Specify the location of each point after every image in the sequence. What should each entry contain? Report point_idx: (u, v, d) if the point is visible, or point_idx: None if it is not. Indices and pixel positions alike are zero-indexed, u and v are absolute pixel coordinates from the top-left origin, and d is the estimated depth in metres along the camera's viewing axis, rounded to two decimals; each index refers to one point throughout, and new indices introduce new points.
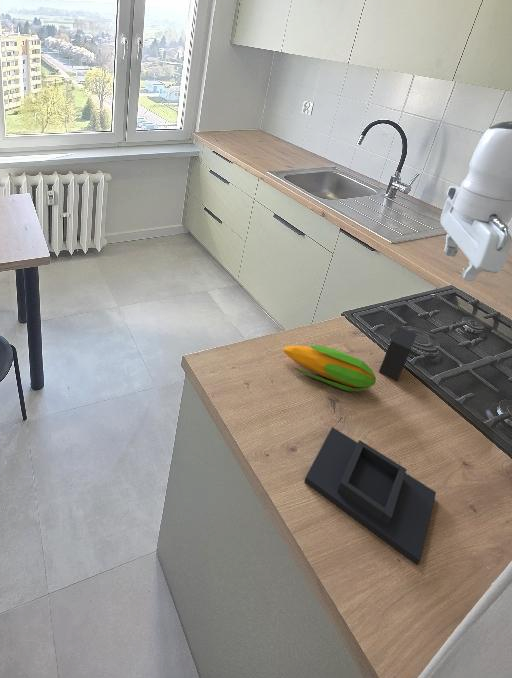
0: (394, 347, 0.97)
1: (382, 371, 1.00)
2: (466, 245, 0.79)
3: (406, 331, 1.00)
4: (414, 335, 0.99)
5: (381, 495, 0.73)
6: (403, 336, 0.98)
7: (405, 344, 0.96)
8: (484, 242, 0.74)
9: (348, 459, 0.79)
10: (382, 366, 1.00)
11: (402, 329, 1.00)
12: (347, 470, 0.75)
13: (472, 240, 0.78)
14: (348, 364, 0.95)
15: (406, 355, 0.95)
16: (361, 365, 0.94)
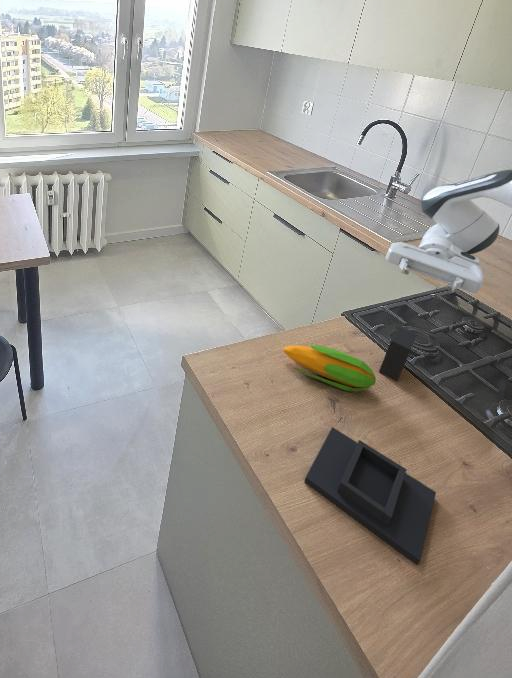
0: (394, 347, 0.97)
1: (382, 371, 1.00)
2: None
3: (406, 331, 1.00)
4: (414, 335, 0.99)
5: (381, 495, 0.73)
6: (403, 336, 0.98)
7: (405, 344, 0.96)
8: None
9: (348, 459, 0.79)
10: (382, 366, 1.00)
11: (402, 329, 1.00)
12: (347, 470, 0.75)
13: None
14: (348, 364, 0.95)
15: (406, 355, 0.95)
16: (361, 365, 0.94)
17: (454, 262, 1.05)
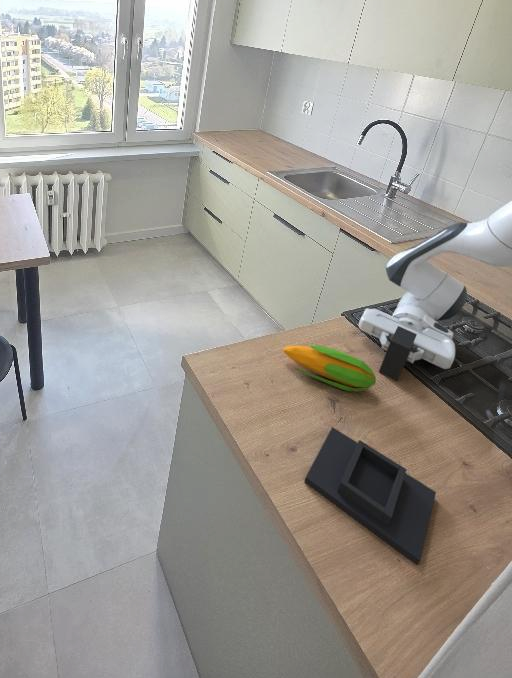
0: (394, 347, 0.97)
1: (382, 371, 1.00)
2: None
3: (406, 331, 1.00)
4: (414, 335, 0.99)
5: (381, 495, 0.73)
6: (403, 336, 0.98)
7: (405, 344, 0.96)
8: None
9: (348, 459, 0.79)
10: (382, 366, 1.00)
11: (402, 329, 1.00)
12: (347, 470, 0.75)
13: None
14: (348, 364, 0.95)
15: (406, 355, 0.95)
16: (361, 365, 0.94)
17: (427, 334, 1.03)
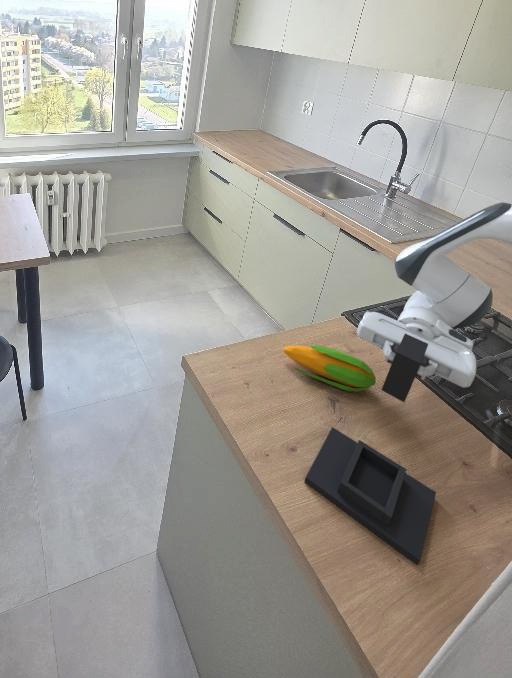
0: (400, 360, 0.78)
1: (385, 389, 0.81)
2: None
3: (415, 339, 0.81)
4: (425, 345, 0.80)
5: (381, 495, 0.73)
6: (411, 346, 0.79)
7: (414, 356, 0.77)
8: None
9: (348, 459, 0.79)
10: (385, 383, 0.81)
11: (410, 337, 0.82)
12: (347, 470, 0.75)
13: None
14: (348, 364, 0.95)
15: (415, 370, 0.77)
16: (361, 365, 0.94)
17: (440, 344, 0.84)
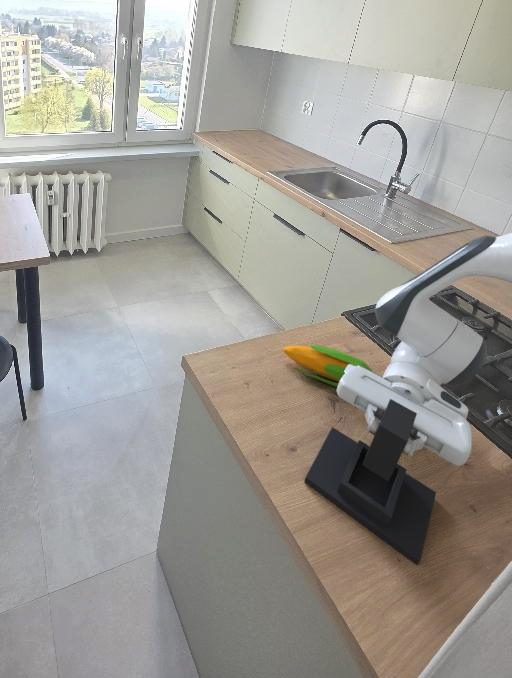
0: (384, 435, 0.67)
1: (367, 464, 0.70)
2: None
3: (402, 407, 0.70)
4: (413, 415, 0.69)
5: (381, 495, 0.73)
6: (397, 417, 0.68)
7: (399, 432, 0.66)
8: None
9: (348, 459, 0.79)
10: (367, 458, 0.70)
11: (396, 405, 0.71)
12: (347, 470, 0.75)
13: None
14: (348, 364, 0.95)
15: (401, 448, 0.66)
16: (361, 365, 0.94)
17: (431, 409, 0.73)
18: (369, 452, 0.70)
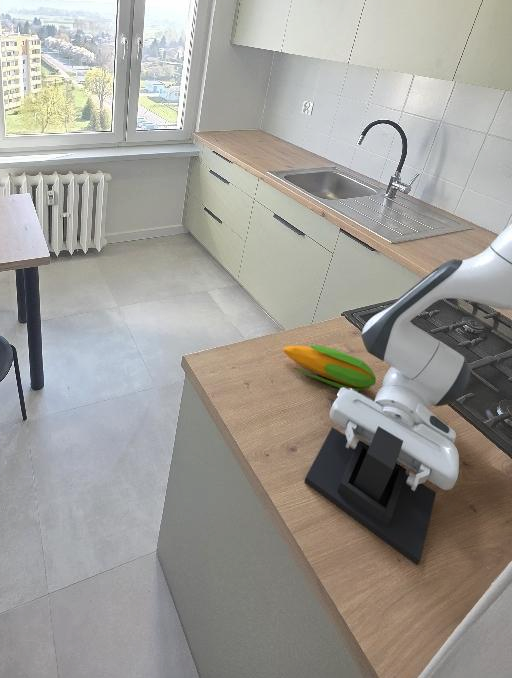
0: (371, 463, 0.70)
1: None
2: None
3: (389, 435, 0.73)
4: (399, 443, 0.72)
5: None
6: (384, 445, 0.71)
7: (386, 460, 0.69)
8: None
9: (348, 459, 0.79)
10: (356, 483, 0.73)
11: (383, 432, 0.74)
12: (347, 470, 0.75)
13: None
14: (348, 364, 0.95)
15: (388, 476, 0.68)
16: (361, 365, 0.94)
17: (420, 434, 0.76)
18: (358, 478, 0.72)
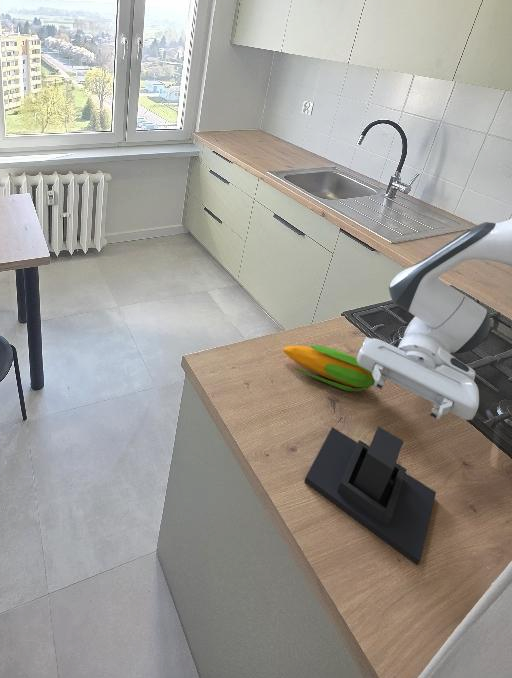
0: (371, 463, 0.70)
1: None
2: None
3: (389, 435, 0.73)
4: (399, 443, 0.72)
5: None
6: (384, 445, 0.71)
7: (386, 460, 0.69)
8: None
9: (348, 459, 0.79)
10: (356, 483, 0.73)
11: (383, 432, 0.74)
12: (347, 470, 0.75)
13: None
14: (348, 364, 0.95)
15: (388, 476, 0.68)
16: None
17: (442, 373, 0.82)
18: (358, 478, 0.72)
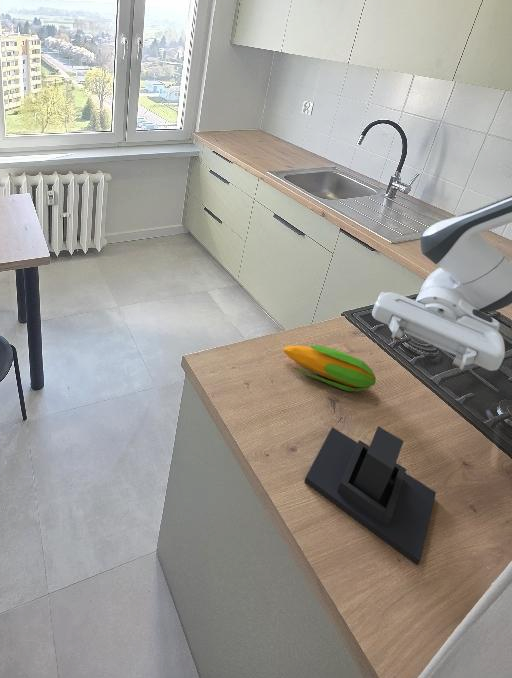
0: (371, 463, 0.70)
1: None
2: None
3: (389, 435, 0.73)
4: (399, 443, 0.72)
5: None
6: (384, 445, 0.71)
7: (386, 460, 0.69)
8: None
9: (348, 459, 0.79)
10: (356, 483, 0.73)
11: (383, 432, 0.74)
12: (347, 470, 0.75)
13: None
14: (348, 364, 0.95)
15: (388, 476, 0.68)
16: (361, 365, 0.94)
17: (463, 324, 0.78)
18: (358, 478, 0.72)
